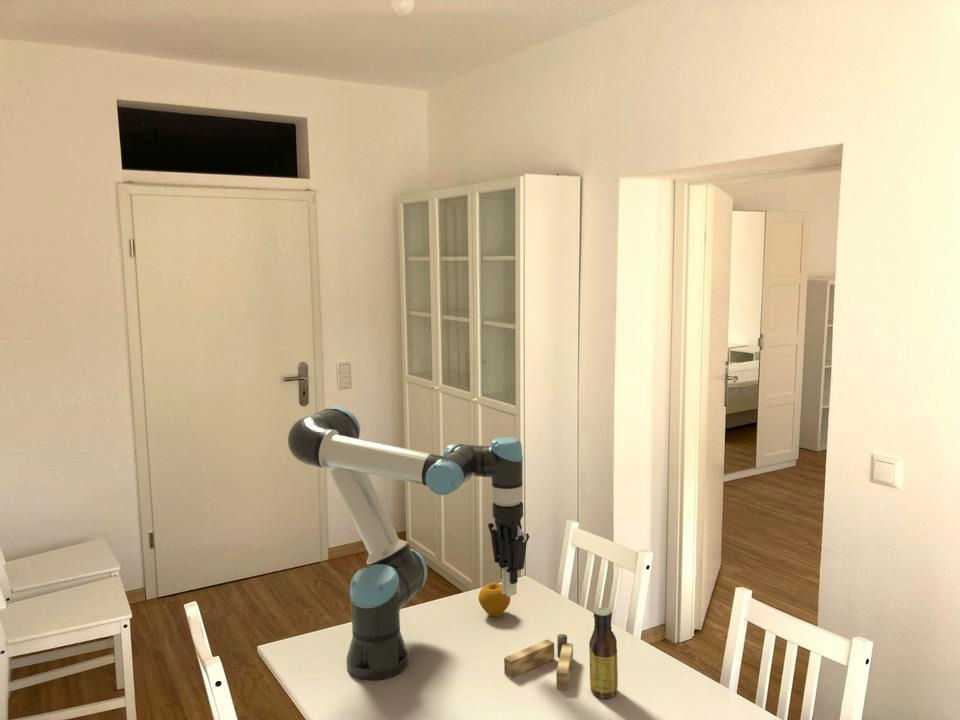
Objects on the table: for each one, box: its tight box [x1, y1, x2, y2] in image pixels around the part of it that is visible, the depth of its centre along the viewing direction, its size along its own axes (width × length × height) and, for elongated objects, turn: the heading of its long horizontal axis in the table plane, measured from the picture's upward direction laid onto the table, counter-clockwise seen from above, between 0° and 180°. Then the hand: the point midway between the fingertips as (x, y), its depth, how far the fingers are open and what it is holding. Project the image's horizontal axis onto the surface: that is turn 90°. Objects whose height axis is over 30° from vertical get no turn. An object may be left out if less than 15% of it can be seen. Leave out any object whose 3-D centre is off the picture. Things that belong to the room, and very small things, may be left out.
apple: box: [477, 582, 511, 618], centre depth 217 cm, size 9×9×9 cm
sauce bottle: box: [588, 606, 619, 699], centre depth 176 cm, size 6×6×20 cm
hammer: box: [555, 633, 574, 691], centre depth 187 cm, size 16×4×5 cm, turn 168°
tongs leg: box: [503, 639, 555, 679], centre depth 189 cm, size 14×2×4 cm, turn 128°
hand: (509, 593), depth 192 cm, fingers closed
